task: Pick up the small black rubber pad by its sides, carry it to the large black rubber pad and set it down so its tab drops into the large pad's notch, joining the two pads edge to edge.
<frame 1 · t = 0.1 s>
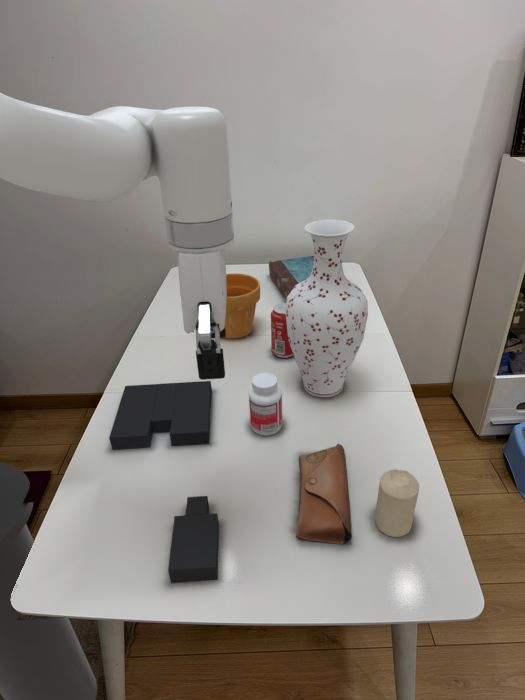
hand: (213, 356, 64), 28 cm above the table, tool pointing down, fingers open, 9 cm apart
candle: (392, 523, 75), on the table
flower pot: (234, 331, 127), on the table
sunglasses case: (322, 496, 80), on the table
small pad: (196, 553, 71), on the table
book: (306, 287, 147), on the table
base pad: (165, 418, 97), on the table
white animal figurine: (201, 286, 151), on the table
pill bottle: (266, 426, 95), on the table
beverage can: (284, 353, 117), on the table
vase: (323, 386, 105), on the table
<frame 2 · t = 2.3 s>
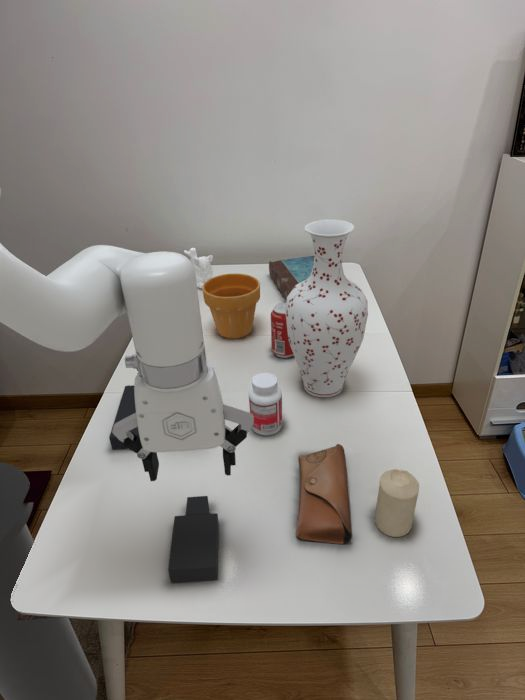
hand: (191, 470, 64), 16 cm above the table, tool pointing down, fingers open, 9 cm apart
nothing on the table moved.
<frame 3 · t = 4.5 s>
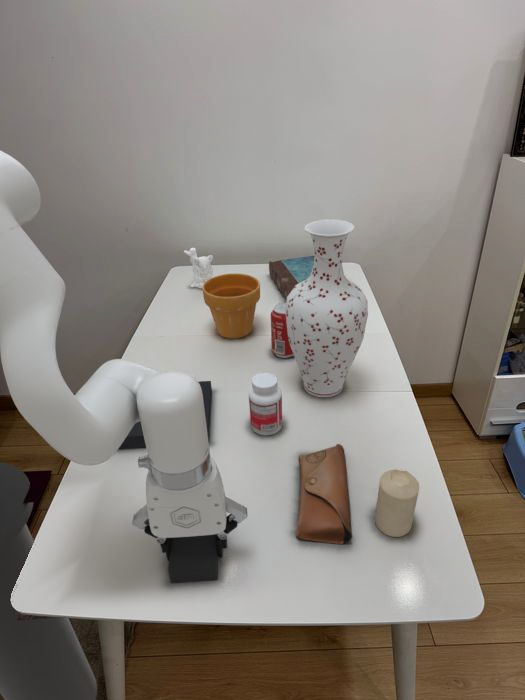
hand: (195, 550, 71), 1 cm above the table, tool pointing down, fingers closed on small pad, 6 cm apart
small pad: (196, 553, 71), on the table, touching gripper
everything else where it was.
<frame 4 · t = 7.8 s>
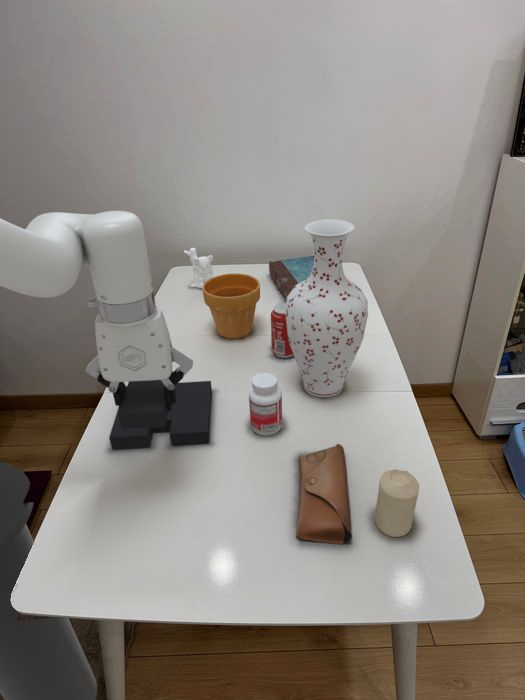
hand: (147, 405, 76), 15 cm above the table, tool pointing down, fingers closed on small pad, 6 cm apart
small pad: (148, 409, 77), point 15 cm above the table, touching gripper
everything else where it was.
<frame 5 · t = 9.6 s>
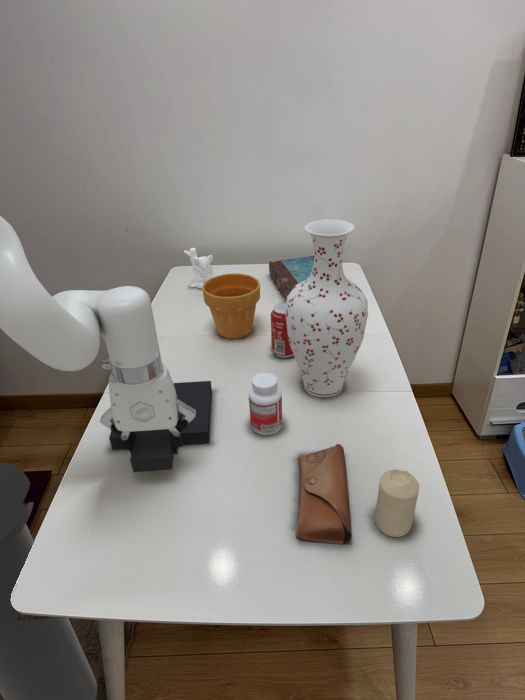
hand: (155, 449, 85), 4 cm above the table, tool pointing down, fingers closed on small pad, 6 cm apart
small pad: (156, 452, 85), point 3 cm above the table, touching gripper
everything else where it was.
when the fingers open (1 cm above the table, at t = 11.0 s): small pad stays where it is, on the table.
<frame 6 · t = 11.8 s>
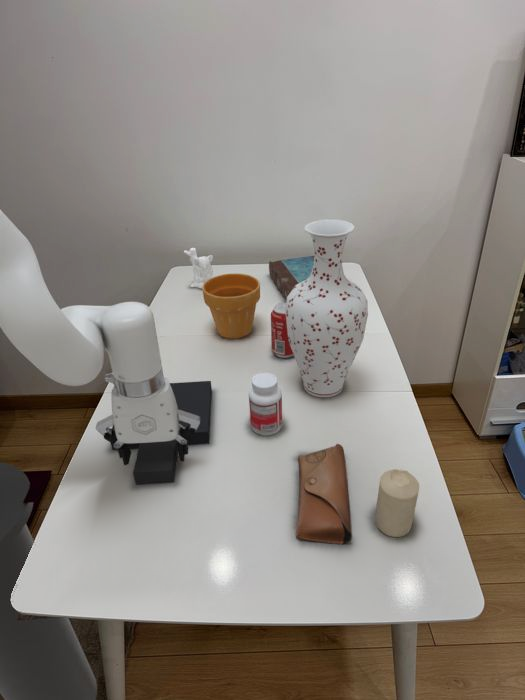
hand: (155, 457, 86), 2 cm above the table, tool pointing down, fingers open, 9 cm apart
small pad: (158, 464, 87), on the table
everything else where it was.
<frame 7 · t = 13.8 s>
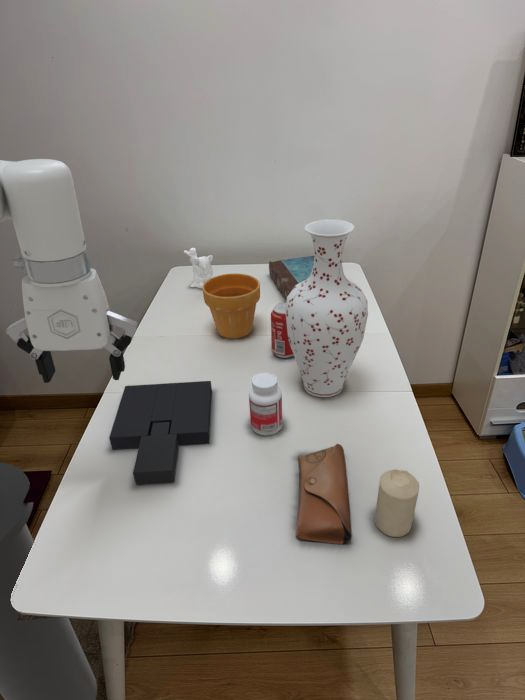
hand: (84, 376, 70), 23 cm above the table, tool pointing down, fingers open, 9 cm apart
nothing on the table moved.
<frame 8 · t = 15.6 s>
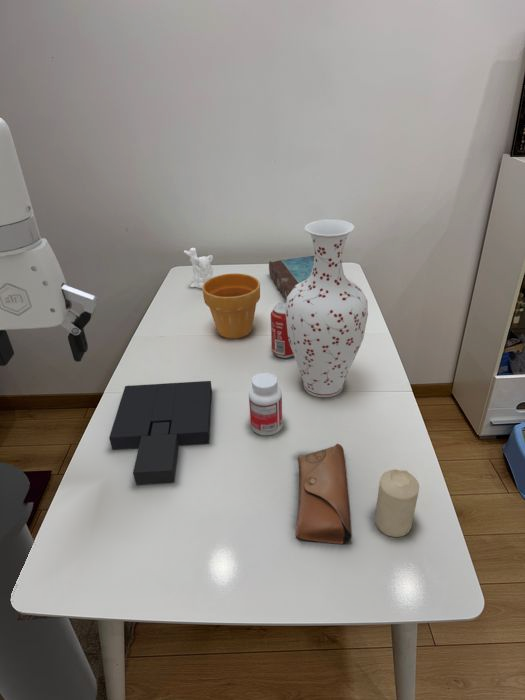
hand: (44, 358, 65), 28 cm above the table, tool pointing down, fingers open, 9 cm apart
nothing on the table moved.
at the end: small pad 0.1 cm from the target spot on the table beside the base pad, on the table; small pad tilted 0°; the gripper is holding nothing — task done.
